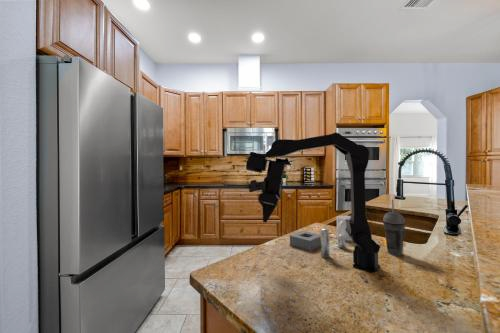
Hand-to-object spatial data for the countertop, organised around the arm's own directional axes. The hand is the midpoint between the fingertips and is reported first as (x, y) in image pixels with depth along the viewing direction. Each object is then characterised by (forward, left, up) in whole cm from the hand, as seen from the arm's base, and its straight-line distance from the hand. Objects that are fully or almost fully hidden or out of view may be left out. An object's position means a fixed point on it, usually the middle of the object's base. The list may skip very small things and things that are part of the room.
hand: (266, 219), depth 80 cm
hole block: (0, -24, -15) cm, 29 cm away
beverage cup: (-29, -38, -15) cm, 51 cm away
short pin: (-12, -31, -15) cm, 37 cm away
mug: (-8, -43, -15) cm, 47 cm away
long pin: (-12, -18, -15) cm, 27 cm away
